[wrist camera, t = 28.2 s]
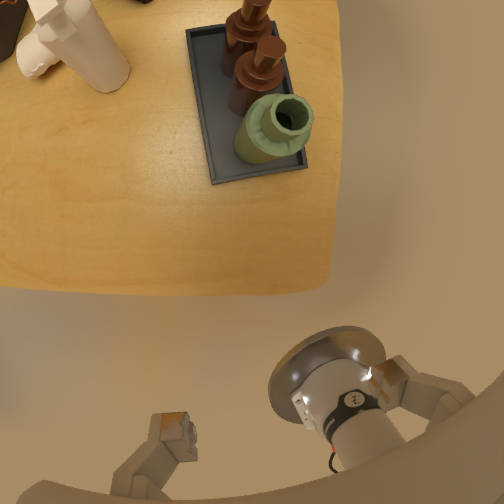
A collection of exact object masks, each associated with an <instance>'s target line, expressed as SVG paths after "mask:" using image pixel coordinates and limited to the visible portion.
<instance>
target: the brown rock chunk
mask: <svg viewBox="0 0 504 504" xmlns="http://www.w3.org/2000/svg"><path fill="white" fill-rule="evenodd" d="M137 1H140V2H142V3H144V4H146V3H149V2H151V1H152V0H137Z"/></svg>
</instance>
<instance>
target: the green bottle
mask: <svg viewBox="0 0 504 504" xmlns="http://www.w3.org/2000/svg"><path fill="white" fill-rule="evenodd" d="M313 120H314V116H313V112H312V108H311V106H310V105H309V104H308V103H307V101H306V100H305V99H304V98H301V97H299V96H297V95H295V94H287V95H283V94H270V95H265V96H263V97H262V98H260V99H258V100H256V101H255V102H254V103H253V105H252V106H251V107H250V109H249V110H248V112H247V113H246V115H245V117H244V119H243V120H242V122H241V124H240V126H239V128H238V130H237V131H236V133H235V136H234V139H233V148H234V151H235V153H236V155H237V156H238V157H239V158H240V159H241V160H242V161H243V162H245V163H248V164H252V165H258V164H264V163H267V162H270V161H273V160H276V159H280V158H283V157H287V156H290V155H293V154H294V153H296V152H298V151H299V150H301V149H302V148H303V147H304V146H305V144H306V143H307V141H308V140H309V137H310V132H311V125H312V122H313Z"/></svg>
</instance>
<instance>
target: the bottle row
mask: <svg viewBox="0 0 504 504" xmlns="http://www.w3.org/2000/svg"><path fill="white" fill-rule="evenodd" d="M270 3H271V0H244V1H243V5H242V8H240V9H239V10H237V11H236V12H234V13H232V14H231V15H230V16H229V17H228V18H227V20H226V24H225V31H224V38H223V46H222V54H221V63H220V68H221V70H222V72H223V73H224V75H226V76H227V77H229V78H231V79H232V80H231V85H230V89H229V93H228V97H227V104H228V107H229V109H230V110H231V111H232V112H233V113H234V114H236V115H238V116H240V117H245V115H246V113H247V112H248V110H249V109H250V107H251V106H252V105H253V103H254V102H255V101H256V100H258V99H260V98H262V97H263V96H265V95H270V94H273V92H274V91H275V90H276V88H277V87H278V86H279V85H280V83H281V82H282V80H283V78H284V67H283V64H282V62H281V61H280V60H281V58H282V57H283V55H284V54H285V52H286V45H285V43H284V41H283V40H282V39H280V38H279V37H276V36H272V35H271V33H272V30H273V26H272V22H271V20H270V19H269V17H268V15H267V10H268V8H269V5H270Z"/></svg>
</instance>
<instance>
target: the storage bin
mask: <svg viewBox="0 0 504 504" xmlns="http://www.w3.org/2000/svg"><path fill="white" fill-rule="evenodd" d="M27 7H28V1H27V0H0V62H1V61H2V60H4V59H5V58H7V57H9V56H10V55H11V54H12V52H13V49H14V45H15V41H16V38H17V34H18V31H19V28H20V25H21V22H22V20H23V17H24V14H25V12H26V9H27Z"/></svg>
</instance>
